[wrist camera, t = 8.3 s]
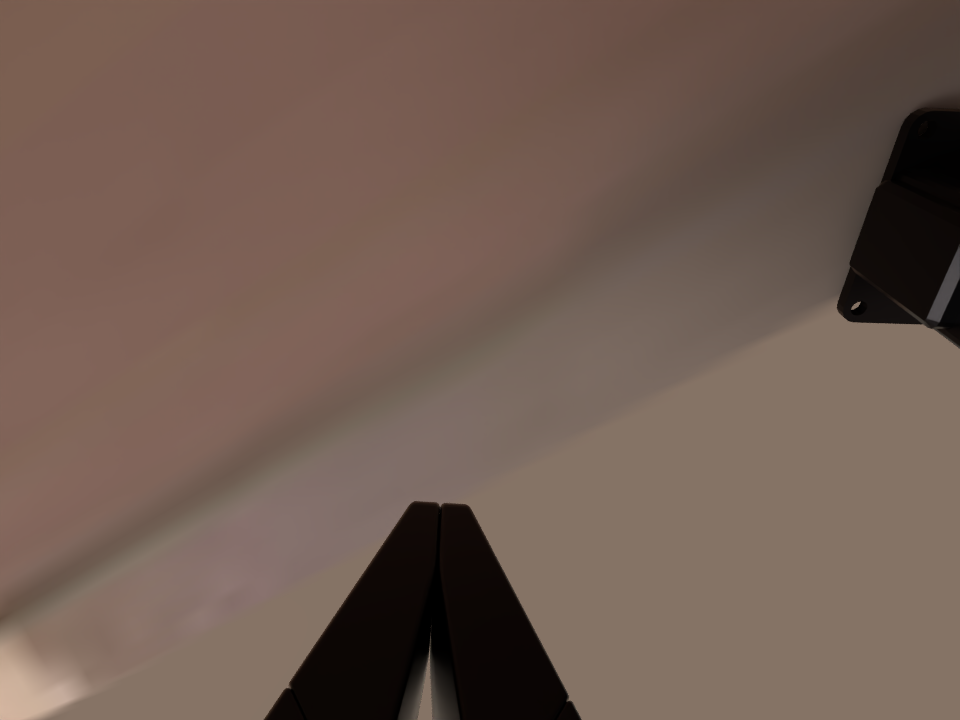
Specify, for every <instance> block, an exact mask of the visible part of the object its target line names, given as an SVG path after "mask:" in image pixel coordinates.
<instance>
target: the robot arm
mask: <svg viewBox="0 0 960 720" xmlns="http://www.w3.org/2000/svg"><path fill="white" fill-rule="evenodd" d="M925 121H928V128H927V129H926V131H925V132H924V133H923V134H921V135H920V136H918V129H919V127H920V126H921V124H923V123H924V122H925ZM850 266H851V267H850V270H849V273H848V275H847V278H846V281H845V284H844V286H843V289H842V292H841V295H840V297H839V300H838V304H837V310H838V312H839V313H840V314H841V315H842V316H843V317H844V318H845V319H847V320H848V321H850V322H861V323H893V324H894V323H895V324H924V325H925V326H926V327H928V328H931V329H934V330H936V331H937V332H938V333H940V334H941V335H943V336H944V337H945V338H946V339H948V340H949V341H950V342H952V343H953V344H954V345H956V346H957V347H958V348H960V110H959V109H934V108H924V109H918V110H916V111H914V112H913V113H911V114H910V115H909V116H908V117H907V118H906V119H905V121H904V122H903V124H902V126H901V129H900V131H899V134H898V137H897V140H896V142H895V145H894V148H893V151H892V154H891V156H890V159H889V162H888V165H887V167H886V170H885V173H884V176H883V178H882V181H881V184H880V185H879V186H878V187H877V188H876V190H875V193H874V196H873V199H872V201H871V204H870V207H869V210H868V212H867V215H866V218H865V221H864V224H863V226H862V229H861V232H860V235H859V238H858V240H857V243H856V246H855V249H854V251H853V254H852V257H851V260H850ZM860 301H861V303H860V305H859V307H857V308H856V309H854V310H851V308H852V306H853V305H854V304H855V303H857V302H860ZM431 625H432V626H431ZM430 636H431V641H430ZM429 647H430V679H431V698H432V717H433V720H581V718H580V716H579V713H578V712H577V710H576V708H575V706H574V704H573V702H572V701H568V700H569V695H568V693H567V691H566V689H565V687H564V685H563V684H562V682H561V680H560V678H559V676H558V674H557V672H556V670H555V668H554V666H553V664H552V663H551V661H550V659H549V657H548V655H547V653H546V651H545V649H544V647H543V645H542V643H541V641H540V640H539V638H538V636H537V634H536V632H535V630H534V628H533V626H532V624H531V622H530V621H529V619H528V617H527V615H526V613H525V611H524V609H523V607H522V605H521V604H520V601H519V600H518V598H517V596H516V594H515V592H514V590H513V588H512V586H511V584H510V582H509V580H508V578H507V577H506V575H505V573H504V571H503V569H502V567H501V566H500V563H499V561H498V560H497V557H496V556H495V554H494V552H493V550H492V548H491V546H490V544H489V542H488V540H487V539H486V536H485V535H484V533H483V531H482V529H481V527H480V525H479V523H478V521H477V519H476V517H475V515H474V514H473V512H472V510H471V508H470V507H469V506H468V505H466V504H452V503H444V504H442V505H441V508H440V506H439V504H438V503H435V502H420V501H414V502H412V503H411V504H410V505H409V506H408V508H407V509H406V511H405V512H404V514H403V515H402V517H401V518H400V520H399V521H398V523H397V524H396V526H395V527H394V529H393V530H392V532H391V533H390V534H389V536H388V537H387V539H386V540H385V542H384V543H383V545H382V546H381V548H380V549H379V551H378V552H377V554H376V555H375V557H374V558H373V560H372V561H371V563H370V564H369V566H368V567H367V569H366V570H365V571H364V573H363V574H362V576H361V578H360V579H359V580H358V582H357V583H356V585H355V586H354V588H353V589H352V591H351V592H350V594H349V595H348V597H347V598H346V600H345V601H344V603H343V604H342V606H341V607H340V608H339V610H338V611H337V613H336V614H335V616H334V617H333V619H332V620H331V622H330V623H329V625H328V626H327V628H326V629H325V631H324V632H323V634H322V635H321V637H320V638H319V640H318V641H317V642H316V644H315V645H314V647H313V648H312V650H311V651H310V653H309V654H308V656H307V657H306V659H305V660H304V662H303V663H302V665H301V666H300V668H299V669H298V671H297V672H296V674H295V675H294V676H293V678H292V679H291V681H290V682H289V688H286V689H285V690H284V691H283V692H282V694H281V695H280V697H279V698H278V700H277V701H276V703H275V704H274V706H273V707H272V709H271V710H270V711H269V713H268V715H267V716H266V717H265V719H264V720H417V718H418V713H419V708H420V703H421V697H422V692H423V687H424V681H425V676H426V670H427V663H428V657H429Z"/></svg>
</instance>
